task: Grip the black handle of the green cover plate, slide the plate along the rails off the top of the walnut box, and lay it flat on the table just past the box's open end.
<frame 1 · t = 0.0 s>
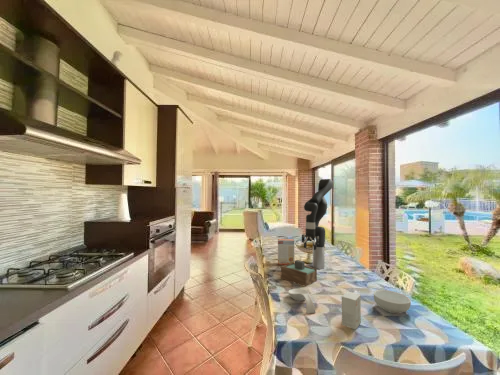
hand: (310, 248, 186), 17 cm above the table, tool pointing down, fingers open, 8 cm apart
small box: (351, 324, 110), on the table
lid box: (298, 279, 166), on the table
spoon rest: (302, 303, 131), on the table
cereal bowl: (391, 310, 124), on the table
cracker box: (285, 264, 204), on the table
cover plate: (299, 269, 166), point 7 cm above the table, touching lid box
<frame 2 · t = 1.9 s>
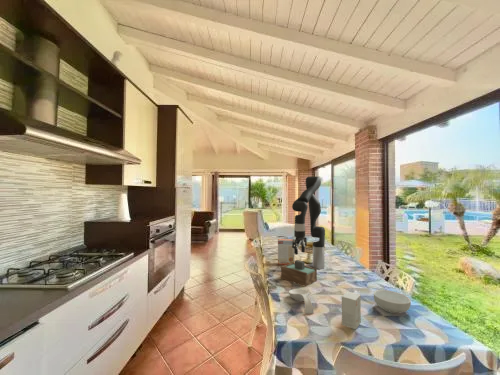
hand: (299, 253, 166), 19 cm above the table, tool pointing down, fingers open, 8 cm apart
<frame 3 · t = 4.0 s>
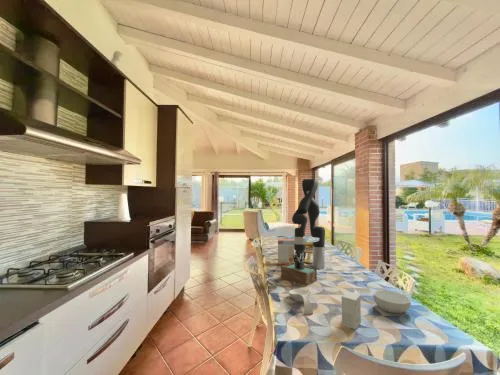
hand: (299, 267, 166), 9 cm above the table, tool pointing down, fingers closed on cover plate, 3 cm apart
cover plate: (299, 269, 166), point 7 cm above the table, touching gripper, lid box
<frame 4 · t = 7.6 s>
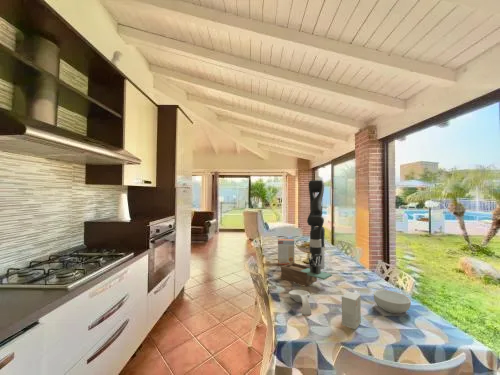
hand: (315, 271, 157), 9 cm above the table, tool pointing down, fingers closed on cover plate, 3 cm apart
cover plate: (315, 274, 157), point 7 cm above the table, touching gripper
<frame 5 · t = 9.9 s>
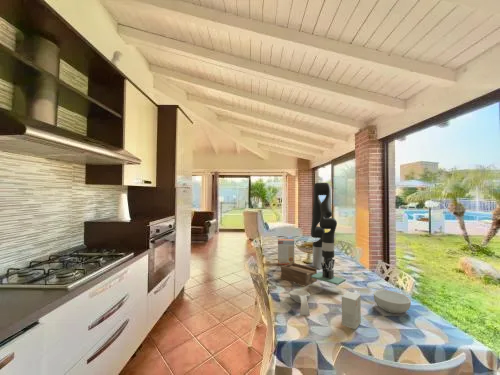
hand: (328, 276, 151), 8 cm above the table, tool pointing down, fingers closed on cover plate, 3 cm apart
cover plate: (328, 279, 151), point 6 cm above the table, touching gripper
when the fingers open (3 cm above the table, at t = 11.5 s): cover plate drops 2 cm, on the table.
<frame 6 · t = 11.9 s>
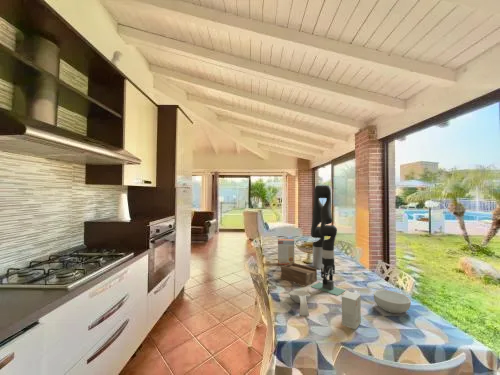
hand: (328, 282, 151), 4 cm above the table, tool pointing down, fingers open, 7 cm apart
cover plate: (328, 289, 151), on the table
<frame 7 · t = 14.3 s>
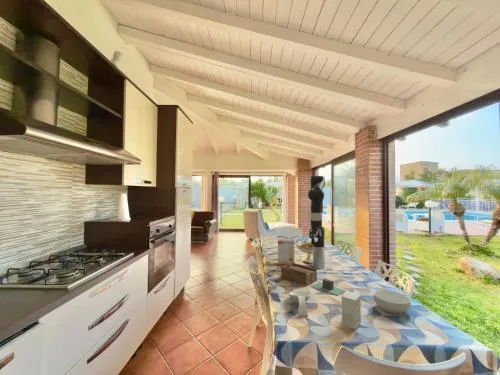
hand: (316, 243, 161), 27 cm above the table, tool pointing down, fingers open, 8 cm apart
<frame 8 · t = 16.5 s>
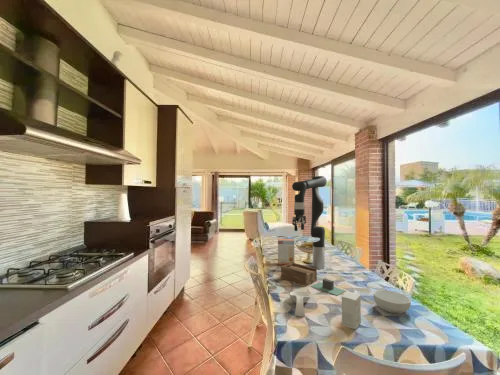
hand: (299, 230, 176), 33 cm above the table, tool pointing down, fingers open, 8 cm apart
at the end: cover plate inside the target area (0.1 cm from its centre), on the table; cover plate tilted 0°; the gripper is holding nothing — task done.
